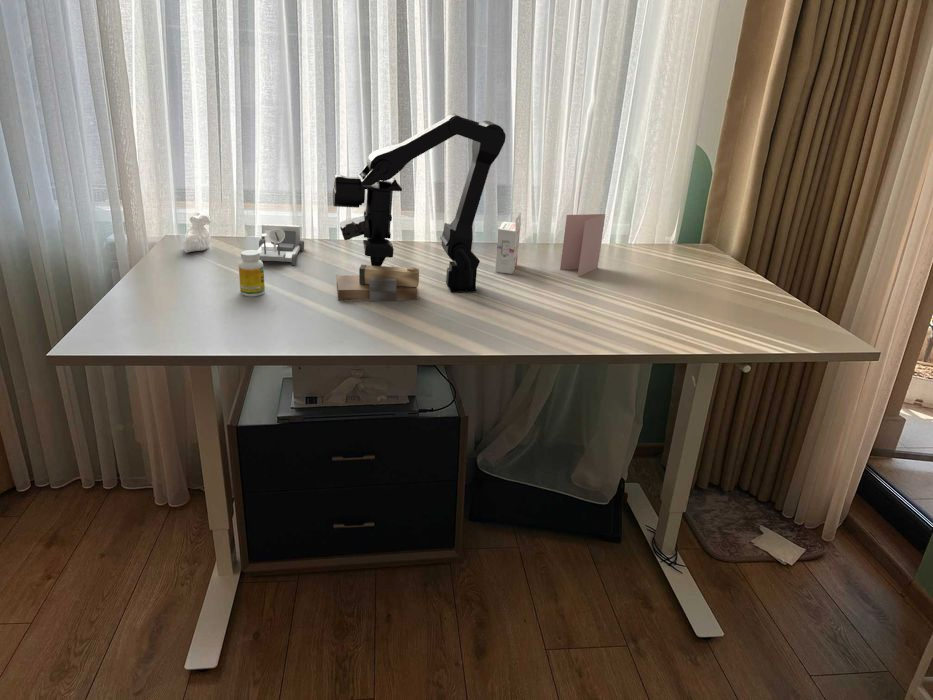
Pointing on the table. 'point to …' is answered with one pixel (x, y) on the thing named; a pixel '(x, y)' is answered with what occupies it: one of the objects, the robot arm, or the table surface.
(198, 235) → the white tied sack
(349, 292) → the brown wooden block
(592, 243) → the greeting card
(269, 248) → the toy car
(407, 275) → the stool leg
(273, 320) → the table surface
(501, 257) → the ink cartridge box
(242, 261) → the supplement bottle
